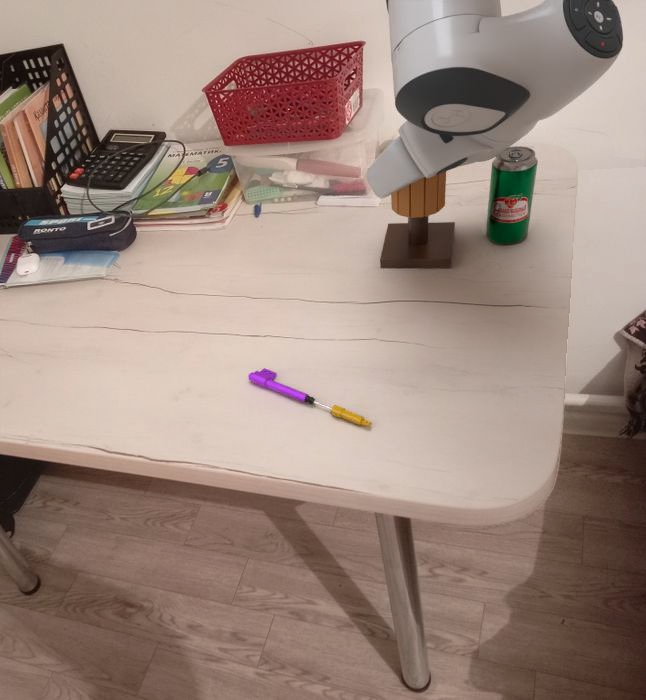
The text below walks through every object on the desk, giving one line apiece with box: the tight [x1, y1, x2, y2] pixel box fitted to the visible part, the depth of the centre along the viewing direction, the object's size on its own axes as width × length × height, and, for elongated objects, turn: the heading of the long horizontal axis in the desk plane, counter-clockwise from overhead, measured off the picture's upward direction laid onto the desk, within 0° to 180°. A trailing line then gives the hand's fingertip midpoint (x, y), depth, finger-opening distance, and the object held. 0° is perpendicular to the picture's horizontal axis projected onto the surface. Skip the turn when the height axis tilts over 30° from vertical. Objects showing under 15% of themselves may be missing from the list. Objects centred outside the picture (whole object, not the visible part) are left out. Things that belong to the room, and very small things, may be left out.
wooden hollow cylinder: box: [390, 171, 447, 219], centre depth 80 cm, size 7×7×7 cm
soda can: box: [485, 145, 539, 245], centre depth 80 cm, size 5×5×12 cm
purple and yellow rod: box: [247, 368, 373, 428], centre depth 71 cm, size 3×1×16 cm
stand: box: [379, 215, 456, 269], centre depth 83 cm, size 9×9×12 cm
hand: (414, 173), depth 80 cm, fingers closed on wooden hollow cylinder, 7 cm apart
